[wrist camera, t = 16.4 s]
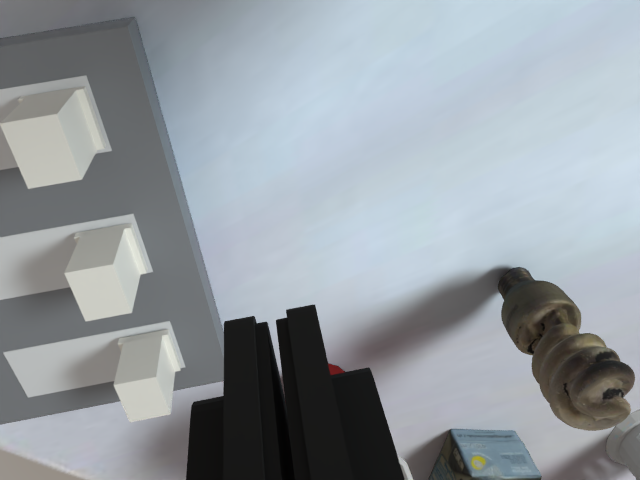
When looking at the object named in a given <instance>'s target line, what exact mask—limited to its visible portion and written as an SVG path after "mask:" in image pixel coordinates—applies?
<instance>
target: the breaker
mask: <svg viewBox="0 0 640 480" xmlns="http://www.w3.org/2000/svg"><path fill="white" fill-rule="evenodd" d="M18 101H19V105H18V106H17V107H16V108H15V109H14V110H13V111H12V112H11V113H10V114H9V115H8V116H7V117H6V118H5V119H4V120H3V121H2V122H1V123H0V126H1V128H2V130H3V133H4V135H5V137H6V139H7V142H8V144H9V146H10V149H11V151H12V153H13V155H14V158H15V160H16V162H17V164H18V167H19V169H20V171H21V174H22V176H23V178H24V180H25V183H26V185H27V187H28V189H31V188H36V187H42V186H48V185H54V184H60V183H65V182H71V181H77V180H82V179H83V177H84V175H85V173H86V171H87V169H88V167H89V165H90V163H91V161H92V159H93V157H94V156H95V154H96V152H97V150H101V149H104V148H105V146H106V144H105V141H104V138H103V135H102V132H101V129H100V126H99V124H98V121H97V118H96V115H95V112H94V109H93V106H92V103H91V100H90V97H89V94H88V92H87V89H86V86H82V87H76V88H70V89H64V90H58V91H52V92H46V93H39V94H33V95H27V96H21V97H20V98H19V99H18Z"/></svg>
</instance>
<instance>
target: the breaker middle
mask: <svg viewBox="0 0 640 480" xmlns="http://www.w3.org/2000/svg"><path fill="white" fill-rule="evenodd" d="M74 239H75V242H76V244H77V245H76V247H75V250H74V252H73V254H72V256H71V259H70V261H69V263H68V266H67V268H66V270H65V273H64V274H65V276H66V278H67V281H68V283H69V285H70V287H71V290H72V292H73V294H74V296H75V299H76V301H77V303H78V306H79V308H80V310H81V312H82V315H83V317H84V319H85V321H91V320H97V319H102V318H107V317H113V316H118V315H123V314H129V313H132V310H133V306H134V301H135V297H136V293H137V288H138V284H139V279H140V275H141V274H146V273H147V269H148V268H147V265H146V262H145V259H144V257H143V254H142V251H141V248H140V245H139V242H138V239H137V236H136V233H135V231H134V228H133V225H132V223H129V224H124V225H118V226H112V227H107V228H101V229H96V230H90V231H84V232H79V233H76V234H75V236H74Z"/></svg>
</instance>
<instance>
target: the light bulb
mask: <svg viewBox="0 0 640 480" xmlns="http://www.w3.org/2000/svg"><path fill="white" fill-rule="evenodd" d="M498 290H499V292H500V293H501V295H502V297H503V299H504V303H503V306H502V312H501V317H502V321H503V324H504V326H505V328H506V330H507V332H508V334H509V336H510V337H511V339H512V340H513V342H514V344H515V345H516V347H517V348H518V349H519V350H520V351H521V352H523V353H526V354H528V355H533V357H532V372H533V375H534V377H535V379H536V381H537V382H538V383H539V384H540V389H541V391H542V394H543V396H544V397H545V399H546V400H547V401H548V402H549V403H550V407H551V409H552V411H553V413H554V414H555V415H556V416H557V417H558V418H559V419H560V420H561V421H563V422H564V423H566V424H567V425H569V426H572V427H574V428H578V429H583V430H592V431H595V430H603V429H607V428H610V427H613V426H615V425H617V424H619V423H621V422H623V421H624V420H625V419H626V418H627V417H628V416H629V414H630V411H631V408H630V404H629V403H628V402H627V401H626V400H625V399H624V398H623V397H624V396H625V395H626V394H627V393H628V392H629V391H630V390H631V389H632V387H633V385H634V381H635V374H634V372H633V370H632V369H631V368H630V367H629V366H628V365H626V364H625V363H622V362H620V358H619V356H618V355H617V353H616V352H615V351H614V350H612V349H609V348H606V345H605V343H604V341H603V340H602V339H601V338H600V337H599V336H597V335H594V334H590V333H584V334H580V333H579V329H580V326H581V313H580V311H579V309H578V307H577V306H576V305H575V304H574V302H573V301H572V300H571V299H570V298H569V297H568V296H567V295H566V294H565V293H564V292H563V290H561V289H560V288H559V287H558V286H556V285H554V284H552V283H550V282H546V281H535V280H534V279H533V278H532V276H531V275H530V273H529V271H528V270H526V269H525V268H521V267H517V268H512V269H511V270H510V271H509V272H508V273H507V274H506V275H505V276H503V277H501V279H500V280H499V283H498Z"/></svg>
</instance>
